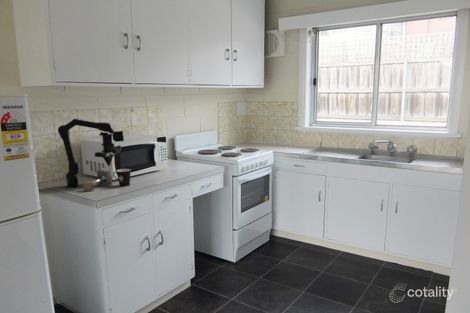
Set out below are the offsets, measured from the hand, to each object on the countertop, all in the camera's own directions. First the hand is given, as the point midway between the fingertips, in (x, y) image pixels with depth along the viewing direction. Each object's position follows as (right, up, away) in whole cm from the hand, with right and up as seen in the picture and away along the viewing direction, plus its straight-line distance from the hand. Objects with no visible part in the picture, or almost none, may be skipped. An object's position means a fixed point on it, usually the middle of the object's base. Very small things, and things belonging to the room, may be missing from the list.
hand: (109, 165), depth 238 cm
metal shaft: (-4, -14, -7) cm, 16 cm away
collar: (-2, -13, -3) cm, 13 cm away
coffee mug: (+10, -13, -2) cm, 16 cm away
